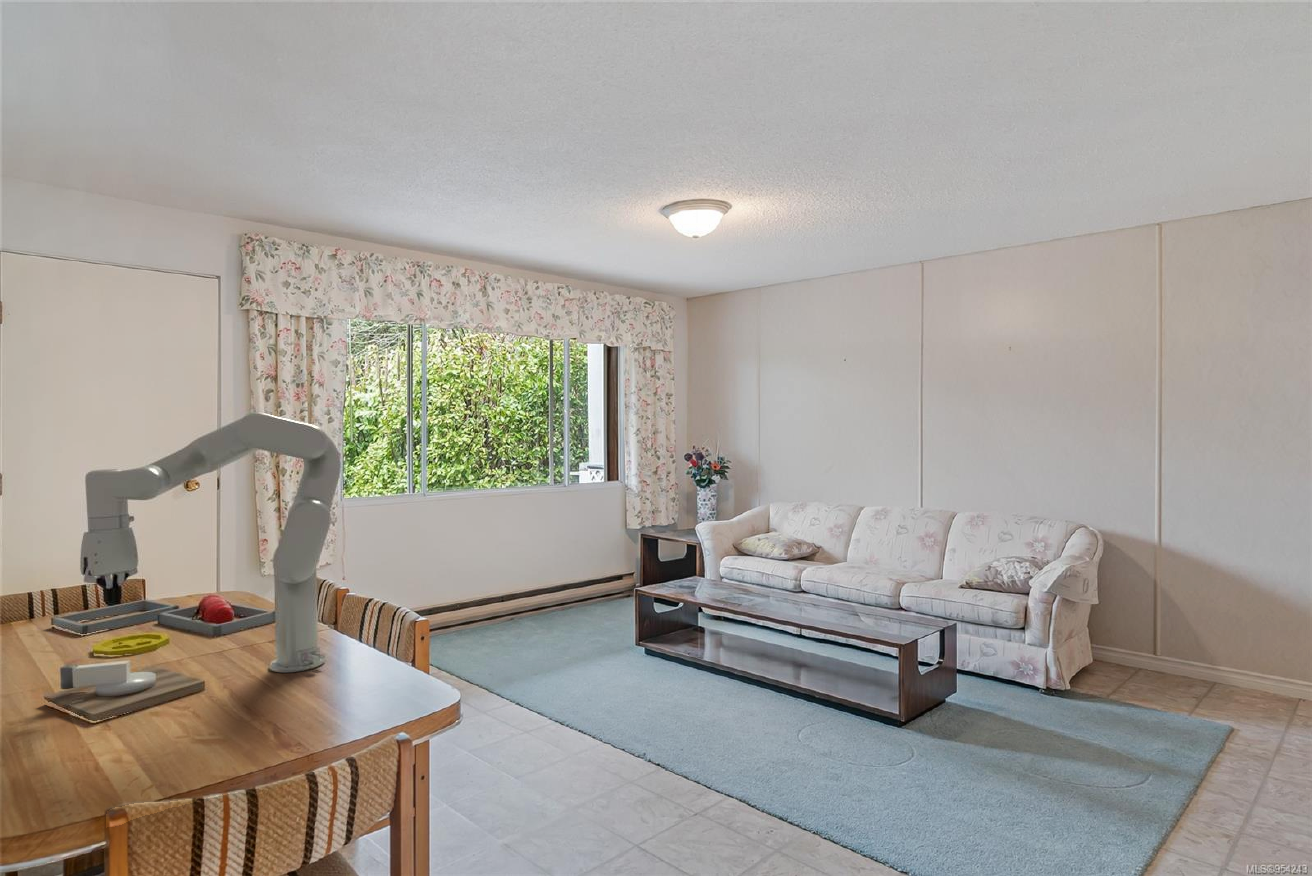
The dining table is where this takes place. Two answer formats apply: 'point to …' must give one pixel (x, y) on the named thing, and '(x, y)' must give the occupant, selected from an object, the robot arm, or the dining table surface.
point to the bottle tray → (182, 621)
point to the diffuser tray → (138, 618)
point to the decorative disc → (132, 644)
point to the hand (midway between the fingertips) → (113, 604)
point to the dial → (106, 678)
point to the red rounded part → (215, 610)
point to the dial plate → (126, 696)
